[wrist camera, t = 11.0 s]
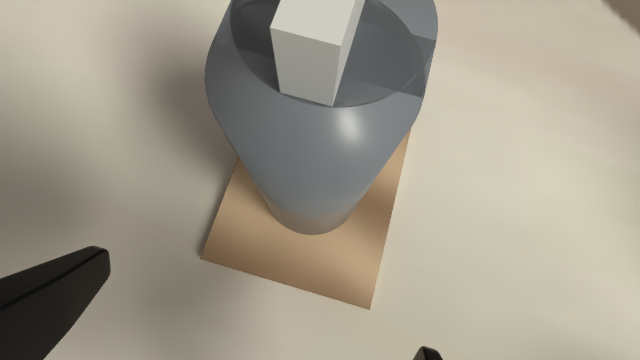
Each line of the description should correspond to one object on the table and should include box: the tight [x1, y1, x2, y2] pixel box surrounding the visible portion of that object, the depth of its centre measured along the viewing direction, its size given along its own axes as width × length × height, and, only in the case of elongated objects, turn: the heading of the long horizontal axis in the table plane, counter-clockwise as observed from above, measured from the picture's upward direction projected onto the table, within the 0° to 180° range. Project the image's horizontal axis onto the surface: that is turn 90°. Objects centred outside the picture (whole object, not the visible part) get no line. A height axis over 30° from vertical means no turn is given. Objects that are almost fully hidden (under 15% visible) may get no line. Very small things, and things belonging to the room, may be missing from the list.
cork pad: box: [200, 128, 411, 310], centre depth 19 cm, size 12×9×1 cm
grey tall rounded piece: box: [205, 0, 438, 235], centre depth 12 cm, size 7×5×13 cm
